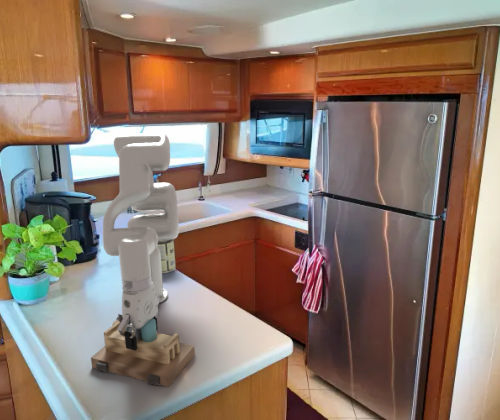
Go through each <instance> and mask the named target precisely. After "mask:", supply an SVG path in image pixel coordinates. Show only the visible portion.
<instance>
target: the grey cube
mask: <svg viewBox="0 0 500 420" xmlns="http://www.w3.org/2000/svg"><path fill="white" fill-rule="evenodd" d="M130 325H132V323H131V324H130ZM131 331H132V328H131V327H129V330H128V332H130V333H131ZM134 336H136V340H138V339H140V338H141V337H142V335H141V328H140V329H136V332H135V335H134Z"/></svg>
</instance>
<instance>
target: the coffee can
mask: <svg viewBox="0 0 500 420" xmlns="http://www.w3.org/2000/svg"><path fill="white" fill-rule="evenodd" d="M174 240H175V239H171V240H160V241H158V244H157V247H158V248H159V250H160V256H161V269H162V274H168V273H170V272H173V271H174V270H175V269H176V258H175V255H176V254H175V243H174Z"/></svg>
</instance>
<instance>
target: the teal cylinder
mask: <svg viewBox="0 0 500 420" xmlns="http://www.w3.org/2000/svg"><path fill="white" fill-rule="evenodd" d="M157 331H158V330H157ZM157 331H156V320H155V319H154V318H152V319H151V320H150V321H148V322H147V323H146V324H145V325H144V326H143V327H141V335H142V341H143V342H152V341H154V340H156V339H157V333H158V332H157Z"/></svg>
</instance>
